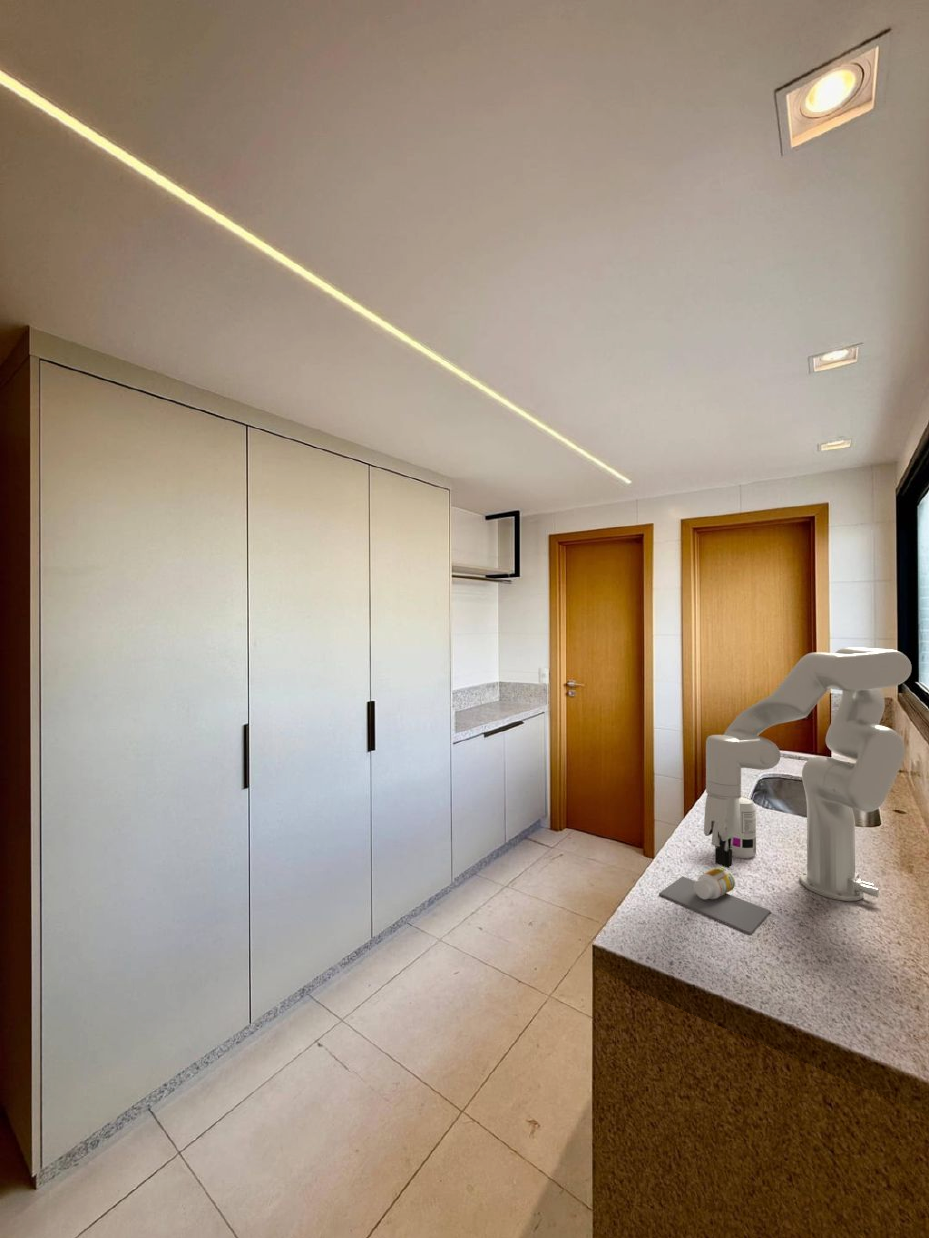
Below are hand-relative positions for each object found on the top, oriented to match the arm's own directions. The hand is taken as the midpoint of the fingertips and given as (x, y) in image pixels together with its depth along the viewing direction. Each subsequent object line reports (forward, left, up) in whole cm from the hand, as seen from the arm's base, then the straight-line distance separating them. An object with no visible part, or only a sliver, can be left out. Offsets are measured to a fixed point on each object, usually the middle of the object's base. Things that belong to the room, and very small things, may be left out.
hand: (723, 864), depth 118 cm
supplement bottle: (0, -2, -4) cm, 4 cm away
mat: (0, +6, -7) cm, 9 cm away
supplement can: (+6, -26, -7) cm, 28 cm away
